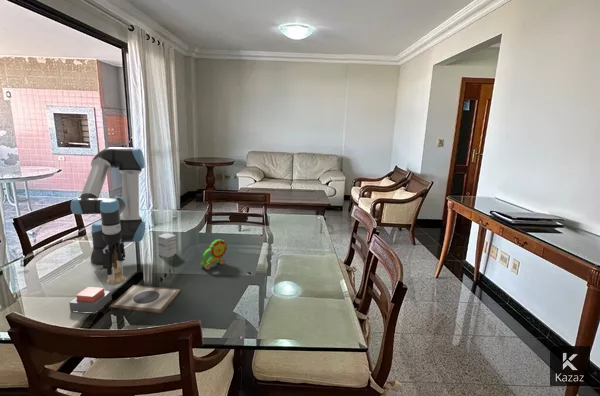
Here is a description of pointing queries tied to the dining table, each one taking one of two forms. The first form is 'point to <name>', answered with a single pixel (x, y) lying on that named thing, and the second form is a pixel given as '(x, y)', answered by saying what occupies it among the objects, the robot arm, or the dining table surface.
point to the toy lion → (214, 254)
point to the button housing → (90, 303)
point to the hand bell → (116, 272)
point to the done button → (90, 294)
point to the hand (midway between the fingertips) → (115, 276)
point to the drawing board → (146, 298)
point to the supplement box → (167, 245)
